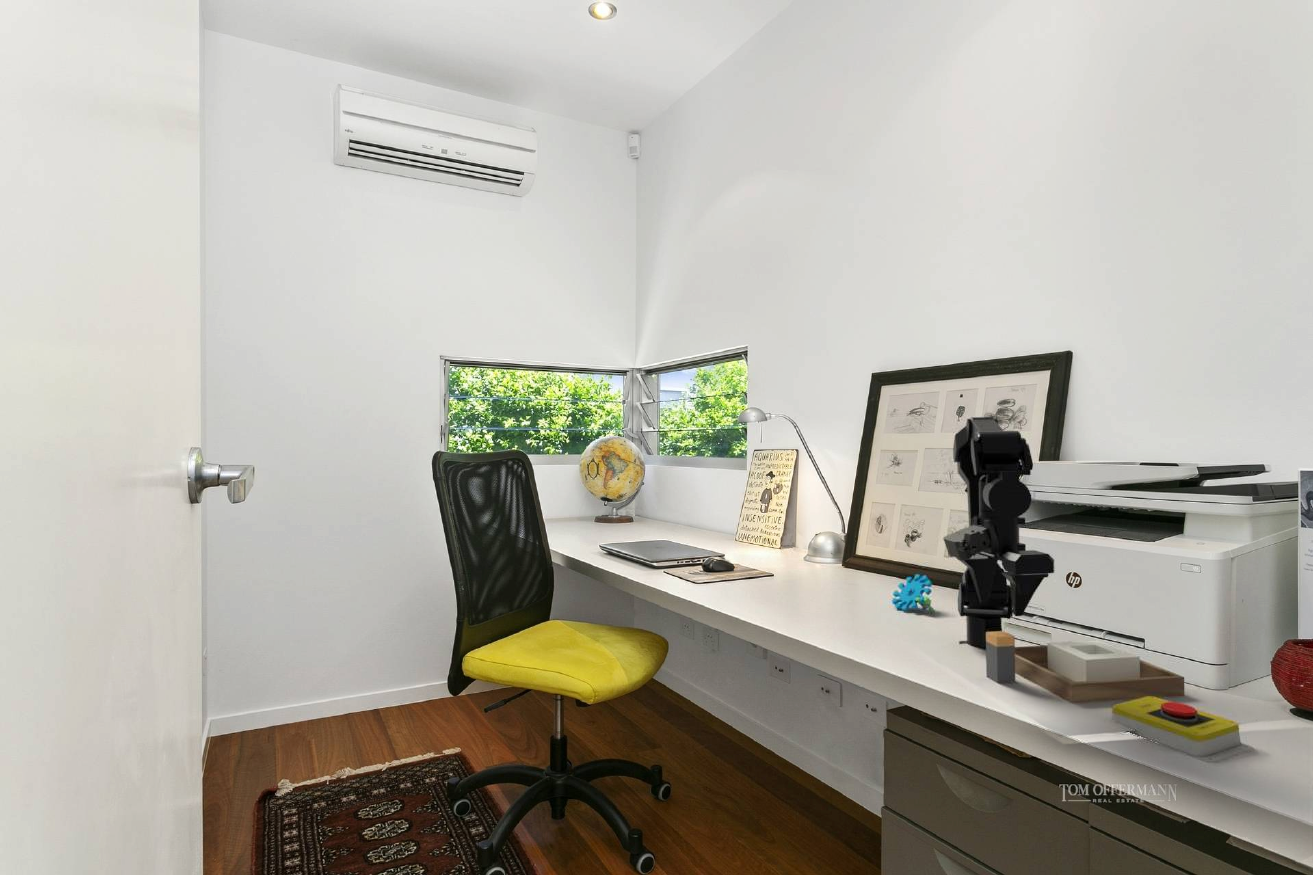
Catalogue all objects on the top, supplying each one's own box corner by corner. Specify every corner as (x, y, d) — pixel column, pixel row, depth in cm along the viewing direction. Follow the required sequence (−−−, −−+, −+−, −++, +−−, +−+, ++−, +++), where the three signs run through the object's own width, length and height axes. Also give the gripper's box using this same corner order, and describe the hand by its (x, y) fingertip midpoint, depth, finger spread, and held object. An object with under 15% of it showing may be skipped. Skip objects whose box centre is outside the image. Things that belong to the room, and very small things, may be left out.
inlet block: (1047, 668, 120) (1047, 642, 120) (1097, 665, 122) (1097, 640, 122) (1086, 687, 112) (1085, 659, 112) (1140, 683, 113) (1139, 656, 113)
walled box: (998, 668, 123) (998, 647, 123) (1096, 662, 125) (1096, 642, 125) (1071, 708, 105) (1071, 684, 105) (1184, 700, 107) (1184, 677, 107)
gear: (882, 597, 169) (912, 566, 170) (898, 613, 171) (927, 583, 171) (907, 615, 159) (939, 582, 159) (924, 632, 160) (955, 599, 160)
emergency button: (1212, 731, 87) (1092, 692, 101) (1213, 768, 87) (1093, 723, 101) (1256, 717, 91) (1135, 681, 105) (1257, 752, 91) (1135, 712, 105)
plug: (986, 681, 117) (985, 631, 117) (1004, 680, 117) (1003, 631, 117) (997, 688, 114) (996, 637, 114) (1015, 686, 114) (1014, 636, 114)
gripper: (922, 505, 124) (923, 597, 124) (984, 519, 105) (986, 626, 105) (983, 503, 125) (984, 594, 125) (1056, 516, 107) (1057, 622, 107)
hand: (1000, 608), depth 116 cm, fingers open, 9 cm apart
